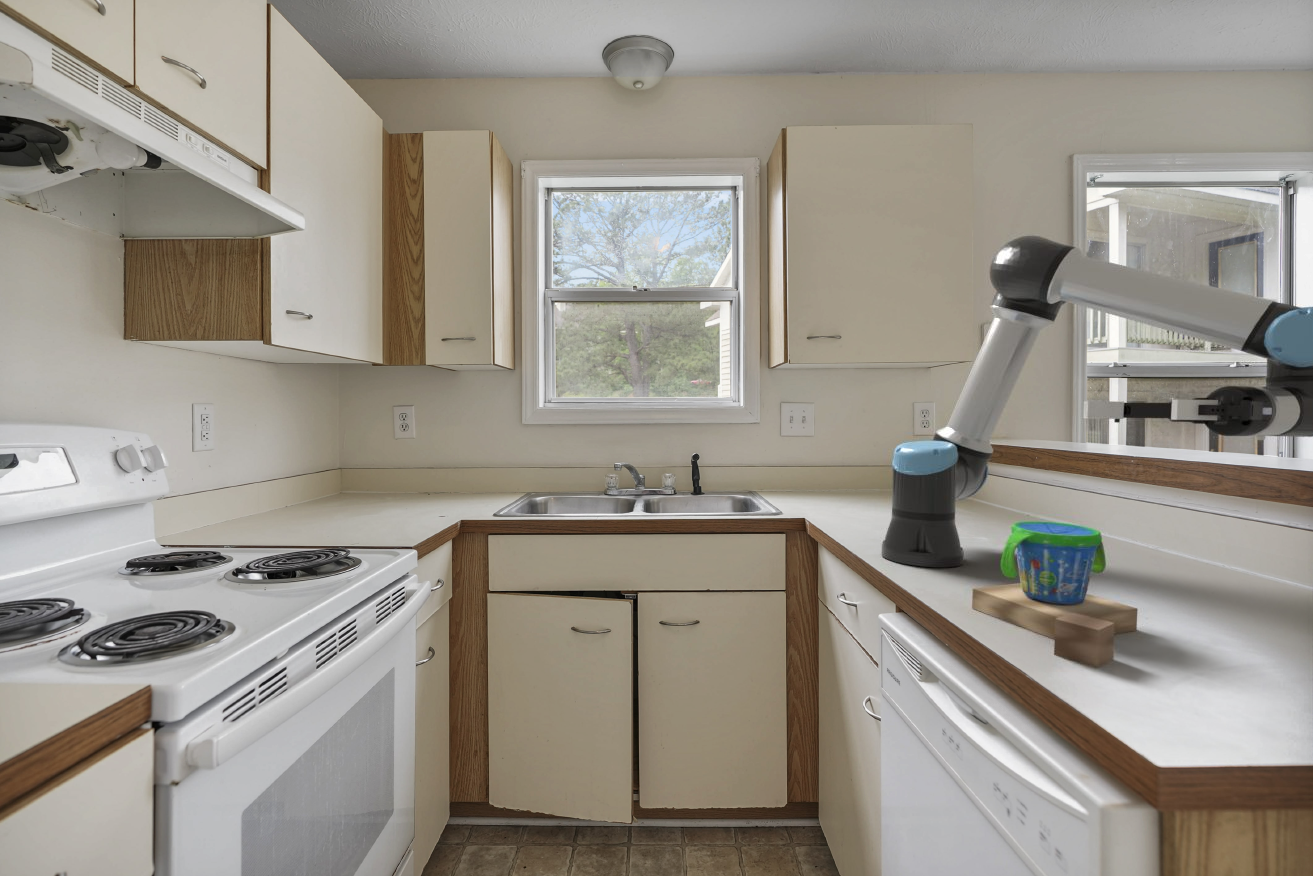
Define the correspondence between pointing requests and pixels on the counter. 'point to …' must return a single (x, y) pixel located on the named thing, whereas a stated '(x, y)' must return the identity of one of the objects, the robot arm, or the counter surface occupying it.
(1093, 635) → the walnut block
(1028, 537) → the snack cup
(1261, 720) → the counter surface
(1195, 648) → the counter surface
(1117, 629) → the oak base slab
